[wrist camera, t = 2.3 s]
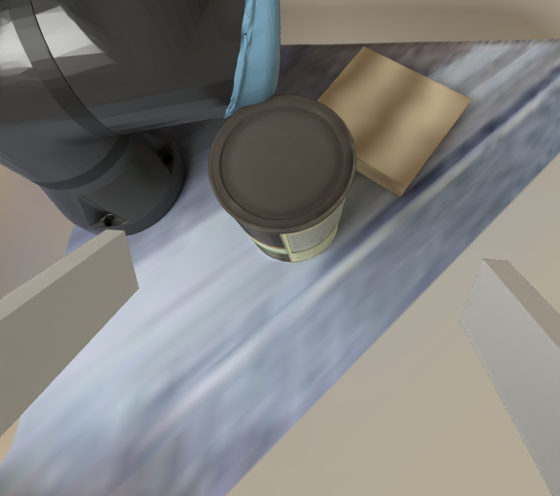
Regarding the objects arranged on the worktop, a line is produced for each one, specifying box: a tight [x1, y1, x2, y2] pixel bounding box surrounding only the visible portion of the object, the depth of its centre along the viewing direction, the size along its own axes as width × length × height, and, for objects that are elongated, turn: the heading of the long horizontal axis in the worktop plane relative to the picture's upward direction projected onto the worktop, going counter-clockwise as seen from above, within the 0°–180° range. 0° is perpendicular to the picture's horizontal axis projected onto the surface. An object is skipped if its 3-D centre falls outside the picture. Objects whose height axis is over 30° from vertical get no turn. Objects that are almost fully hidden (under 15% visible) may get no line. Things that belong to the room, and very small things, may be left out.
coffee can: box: [208, 94, 357, 263], centre depth 28 cm, size 10×10×14 cm
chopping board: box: [317, 47, 472, 197], centre depth 36 cm, size 14×13×2 cm
